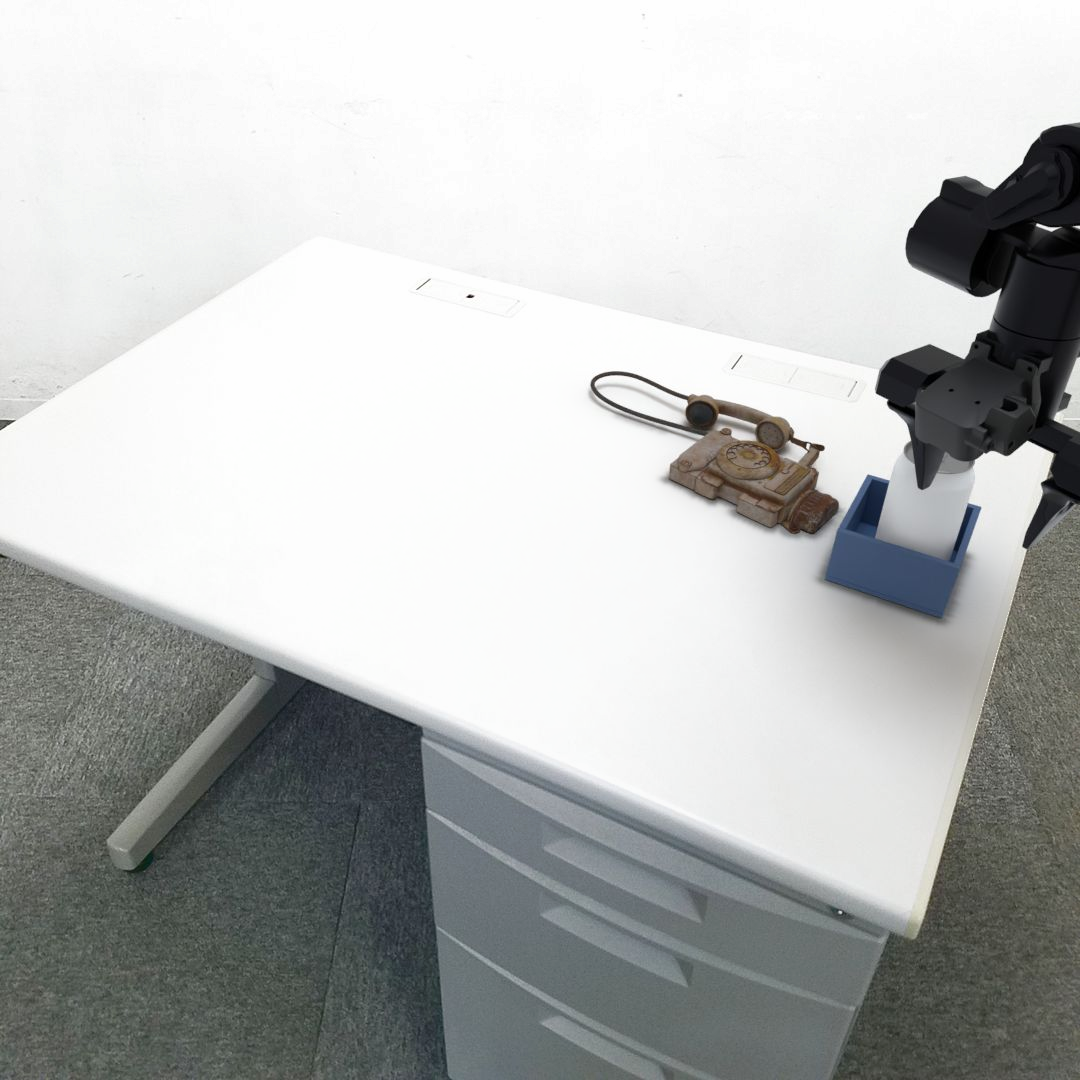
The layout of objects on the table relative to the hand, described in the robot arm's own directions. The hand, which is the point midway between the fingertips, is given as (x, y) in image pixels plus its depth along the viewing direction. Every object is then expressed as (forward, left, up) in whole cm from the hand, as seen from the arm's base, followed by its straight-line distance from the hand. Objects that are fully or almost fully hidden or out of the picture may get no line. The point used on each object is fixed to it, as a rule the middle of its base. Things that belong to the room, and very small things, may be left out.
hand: (973, 516), depth 73 cm
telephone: (+32, -4, -13) cm, 34 cm away
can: (+7, -5, -12) cm, 15 cm away
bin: (+8, -5, -13) cm, 16 cm away
